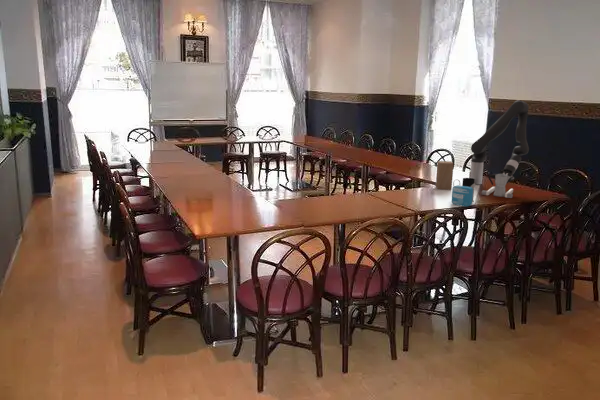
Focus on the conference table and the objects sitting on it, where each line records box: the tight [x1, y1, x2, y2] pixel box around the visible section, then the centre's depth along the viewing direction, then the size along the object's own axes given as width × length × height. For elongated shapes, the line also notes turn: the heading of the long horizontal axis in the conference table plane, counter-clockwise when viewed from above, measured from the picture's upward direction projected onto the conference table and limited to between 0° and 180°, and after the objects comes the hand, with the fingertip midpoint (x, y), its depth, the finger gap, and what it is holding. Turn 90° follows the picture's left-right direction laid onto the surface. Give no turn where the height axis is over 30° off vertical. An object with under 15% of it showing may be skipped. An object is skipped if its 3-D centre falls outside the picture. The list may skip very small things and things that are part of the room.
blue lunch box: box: [452, 177, 476, 203], centre depth 329 cm, size 9×14×15 cm, turn 58°
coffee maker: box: [487, 169, 510, 198], centre depth 345 cm, size 15×9×18 cm, turn 64°
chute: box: [481, 186, 514, 199], centre depth 353 cm, size 20×22×2 cm
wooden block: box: [435, 160, 454, 191], centre depth 367 cm, size 10×10×20 cm
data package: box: [450, 184, 474, 207], centre depth 316 cm, size 12×4×12 cm, turn 48°
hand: (499, 186), depth 349 cm, fingers closed
